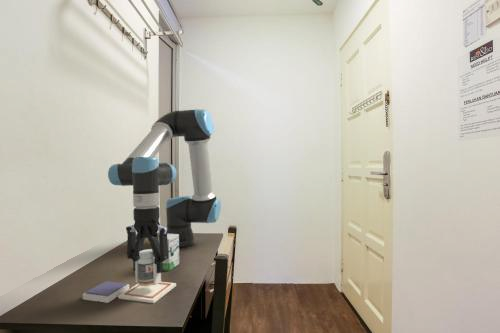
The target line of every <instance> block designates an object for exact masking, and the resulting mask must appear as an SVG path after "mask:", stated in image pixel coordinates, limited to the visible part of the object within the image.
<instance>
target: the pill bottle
mask: <svg viewBox="0 0 500 333" xmlns="http://www.w3.org/2000/svg"><path fill="white" fill-rule="evenodd" d="M139 256H140V259H139V260H138V283H137V284H139V285H140V286H144V287H146V286H151V285H154V278H153V263H154V262H155V258H154V254H153V251H152V248H147V249H142V251H140V252H139Z"/></svg>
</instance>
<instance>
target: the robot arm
mask: <svg viewBox="0 0 500 333" xmlns="http://www.w3.org/2000/svg"><path fill="white" fill-rule="evenodd" d="M214 128H215V127H214V121H213V118H212V116H211V114H210V112H209V111H208V110H206V109H199V108H197V109H196V108H195V109H185V110H183V109H182V110H173V111H170V112H167V113H166V114H164V115H163V116H161V117H160V118H158V119H157V120H156V121H155V122H154V123H153V124H152V126H151V128H150V131H149V132H148V134H147V135H146V136H145V137H144V138H143V139H142V140H141V141H140V143H139V144H138V145H137V146H136V147H135V149H133V151H132V152H131V153H130V154H129V155H128V156H127V157H126V159H125V160H124V161H123V162H122V163H116V164H113V165H111V166H110V167H109V168H108V172H107V177H108V180H109V183H111V184H112V185H114V186H122V187H125V186H126V187H128V186H130V187H131V186H132V189H133V190H132V198H133V199H132V202H133V207H134V209H133V211H132V212H133V221H134V223H133V224H132V225H129V226H126V227H125V228H126V233H127V246H126V247H127V248H126V249H127V251H126V257H127V259H129V260H130V259H131V260H132V262H133V263H132V264H133V268H132V269H133V271H134V273H135V274H134V275H135V283H136V284H138V260H139V259H140V256H139V252H140V251H142V250H144V249H143V248H144V245H145V240H146V239H147V240H148V242H149V243H150V247H151V249H152V251H153V254H154V258H155V262H154V263H153V278H154V285H157V284H158V283H160V282H162V272H164V270H163V261H165V260H166V259H168V257H169V256H168V241H167V234H179V248H185V247H189V246H193V245H194V244H196V238H195V235H194V232H193V229H192V223H193V224H194V223H195V224H198V223H199V224H200V223H201V224H210V223H211V224H212V223H216V222H217V221H218V220H219V217H220V214H221V207H222V201H221V198H217V195H216V192H214V191H213V186H212V185H213V184H212V177H211V176H212V174H211V167H210V166H211V165H210V158H209V157H210V156H209V147H208V142H209V141H210V139H211V136H212V135H213V134H214ZM177 137H183V139H184V142H185V143H186V144H188V150H189V151H188V153H189V160H190V169H191V178H192V186H193V194H192V196H191V195H182V196H178V197H177V196H176V197H171V198H168V199H167V200H166V202H165V206H166V207H165V209H166V210H165V211H166V213H165V214H166V226H162V225H161V223H160V207H159V205H160V187H159V186H167V185H170V184H172V183H174V182H175V180H176V178H177V174H178V173H177V169H176V167H175V166H174V165H173V164H171V163H167V162H159V159H158V157H157V155H158V153H159V152H160V151H161V149H162V148H163V146H164V145H165V144H166V142H169V141H171V140H172V139H173V138H177ZM158 238H159V241H158Z"/></svg>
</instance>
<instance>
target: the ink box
mask: <svg viewBox="0 0 500 333" xmlns="http://www.w3.org/2000/svg"><path fill="white" fill-rule="evenodd" d="M158 241H159V237H158ZM167 241H168V256H169V257H168V259H166V260H165V261H163V271H165V272H166V271H167V272H168V271H172V270H173V269H174V268H176V266H178V265H179V264H180V247H179V234H167Z"/></svg>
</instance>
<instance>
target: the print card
mask: <svg viewBox="0 0 500 333" xmlns="http://www.w3.org/2000/svg"><path fill="white" fill-rule="evenodd" d="M175 287H177V283H176V282H175V283H174V282H165V281H161V282H160V283H158V284H157V285H151V286H146V287H144V286H140V285H139V284H138V283H136V284H135V285H133V286H132V287H131V288H130V287H129V290H127V291H125V292H124V293H122V294H120V295H119V296H118V297H117V298H118V299H120V300H127V301H134V302H142V303H149V304H155V303H157V301H158V300H160V299H161V298H162V297H163V296H165V295H166V294H168V292H170V291H172V290H173V289H174V288H175Z"/></svg>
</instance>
